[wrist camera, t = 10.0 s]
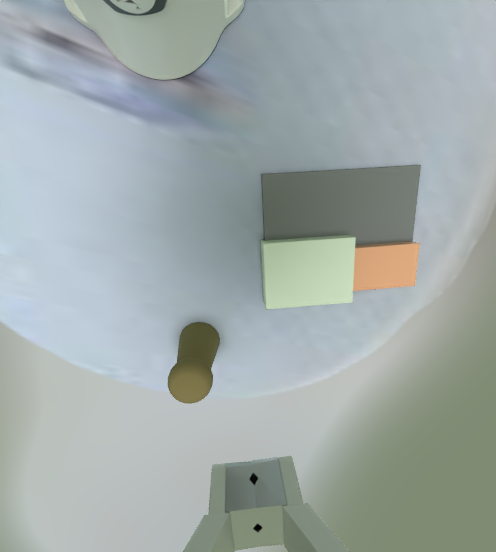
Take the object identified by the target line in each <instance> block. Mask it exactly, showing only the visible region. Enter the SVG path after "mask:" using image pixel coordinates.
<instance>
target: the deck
mask: <svg viewBox="0 0 496 552" xmlns="http://www.w3.org/2000/svg"><path fill="white" fill-rule="evenodd" d="M355 240H356V237H353V236H349V235H338V236H324V237H310V238H296V239H281V240H267V241H265V240H261V256H262V277H263V298H264V304H265V307H266V309H276V308H289V307H301V306H313V305H325V304H338V303H350V302H352V299H353V280H354V260H355Z"/></svg>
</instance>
